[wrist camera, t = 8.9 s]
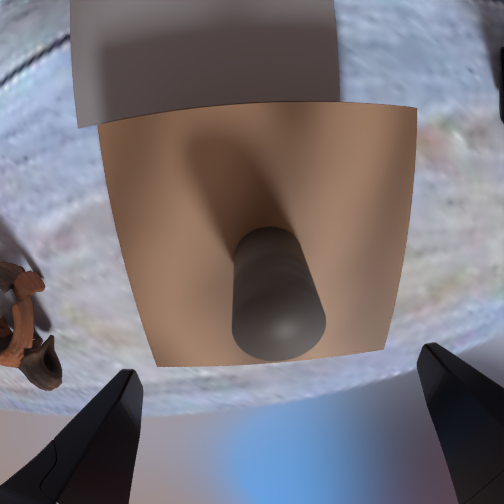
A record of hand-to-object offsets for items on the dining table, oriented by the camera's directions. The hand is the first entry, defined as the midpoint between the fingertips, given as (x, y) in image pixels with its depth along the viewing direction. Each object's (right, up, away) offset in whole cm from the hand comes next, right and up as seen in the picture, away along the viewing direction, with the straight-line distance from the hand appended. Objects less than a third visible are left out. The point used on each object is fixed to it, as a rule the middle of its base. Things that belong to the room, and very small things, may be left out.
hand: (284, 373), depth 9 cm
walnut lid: (0, +4, +7) cm, 8 cm away
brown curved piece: (-21, -2, +15) cm, 26 cm away
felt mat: (-4, +19, +5) cm, 20 cm away
